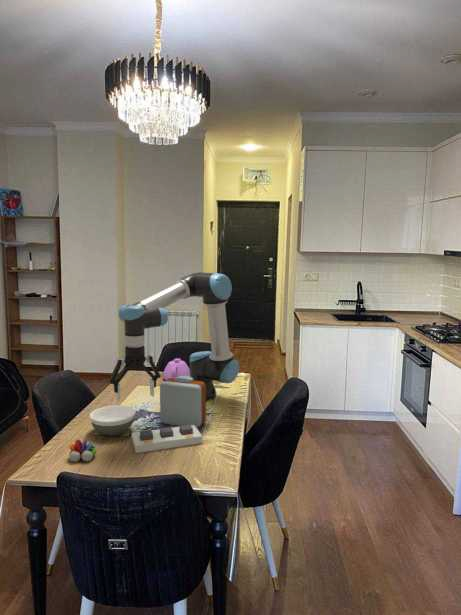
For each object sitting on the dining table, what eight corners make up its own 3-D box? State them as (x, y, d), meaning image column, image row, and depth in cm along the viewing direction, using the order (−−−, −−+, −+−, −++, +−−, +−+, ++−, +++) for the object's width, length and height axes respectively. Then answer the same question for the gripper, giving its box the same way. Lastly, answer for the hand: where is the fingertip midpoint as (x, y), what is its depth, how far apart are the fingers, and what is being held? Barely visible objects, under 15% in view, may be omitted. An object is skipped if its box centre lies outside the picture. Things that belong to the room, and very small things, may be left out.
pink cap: (188, 385, 257) (188, 364, 255) (160, 385, 258) (159, 363, 256) (192, 374, 279) (192, 354, 277) (166, 373, 279) (166, 354, 278)
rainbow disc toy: (72, 453, 176) (71, 434, 175) (98, 452, 177) (97, 434, 176) (66, 463, 168) (65, 444, 167) (94, 463, 169) (93, 444, 168)
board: (194, 431, 196) (194, 424, 196) (202, 443, 185) (202, 435, 184) (131, 440, 187) (131, 432, 187) (135, 453, 176) (135, 445, 176)
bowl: (95, 444, 183) (94, 424, 182) (86, 427, 200) (85, 409, 198) (141, 435, 192) (141, 416, 190) (129, 420, 208) (128, 402, 207)
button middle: (170, 434, 189) (170, 427, 188) (173, 438, 184) (173, 431, 184) (160, 436, 187) (159, 428, 187) (162, 440, 183) (162, 432, 183)
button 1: (151, 437, 186) (150, 429, 185) (153, 441, 182) (152, 434, 181) (139, 438, 184) (139, 431, 184) (141, 443, 180) (141, 435, 180)
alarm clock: (206, 421, 207) (206, 376, 204) (198, 429, 198) (198, 382, 195) (168, 416, 213) (168, 372, 210) (159, 423, 204) (158, 378, 201)
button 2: (190, 431, 191) (190, 424, 191) (192, 436, 187) (192, 428, 187) (179, 433, 190) (179, 425, 189) (182, 437, 186) (182, 430, 185)
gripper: (162, 340, 192) (162, 390, 194) (100, 346, 180) (101, 399, 183) (168, 344, 185) (168, 396, 188) (104, 350, 173) (106, 405, 176)
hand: (135, 397), depth 185 cm, fingers open, 13 cm apart
